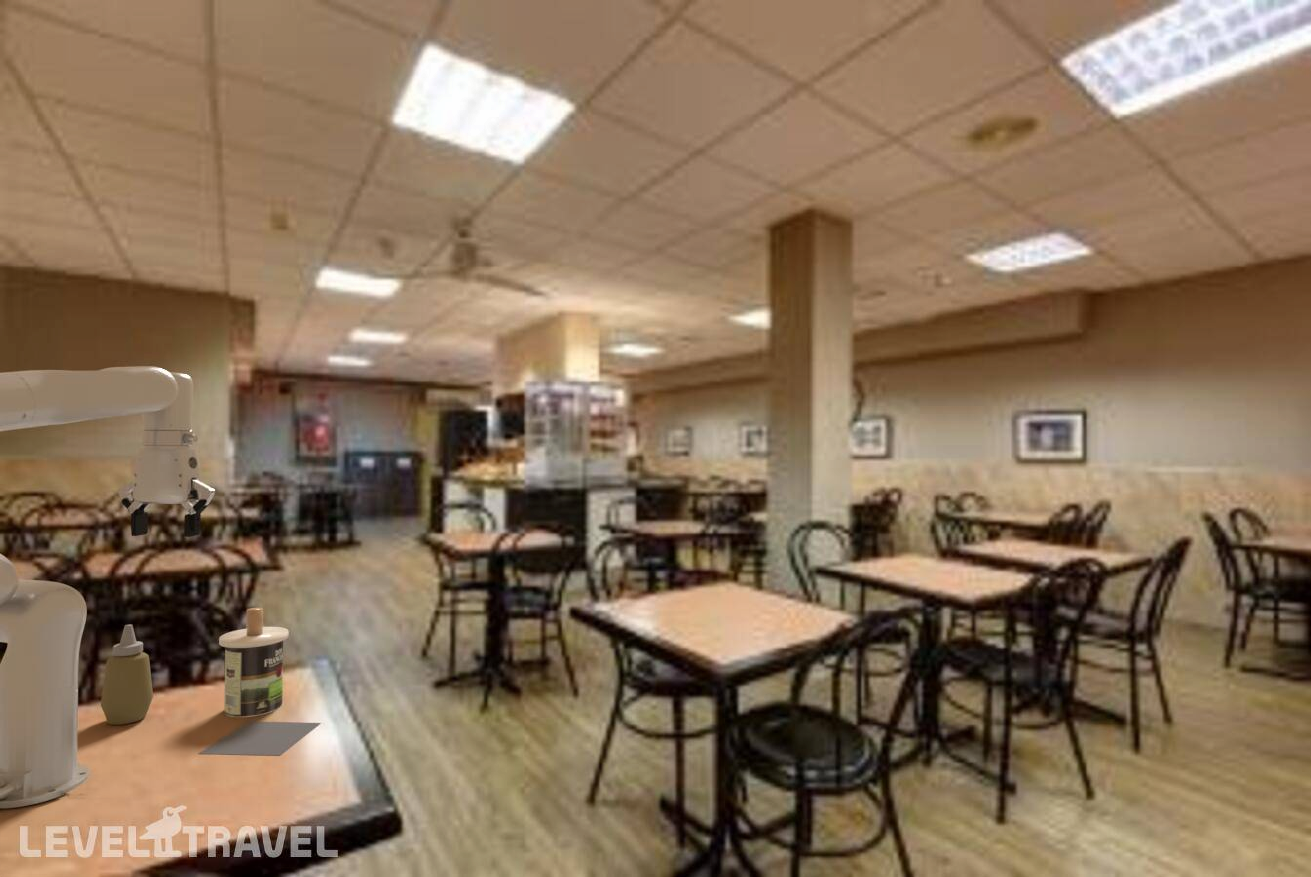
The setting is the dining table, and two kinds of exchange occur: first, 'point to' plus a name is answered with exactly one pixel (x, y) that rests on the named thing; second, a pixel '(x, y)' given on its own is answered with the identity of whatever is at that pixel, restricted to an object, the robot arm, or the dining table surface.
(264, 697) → the coffee can
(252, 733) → the mat
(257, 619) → the lid
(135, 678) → the squeeze bottle
